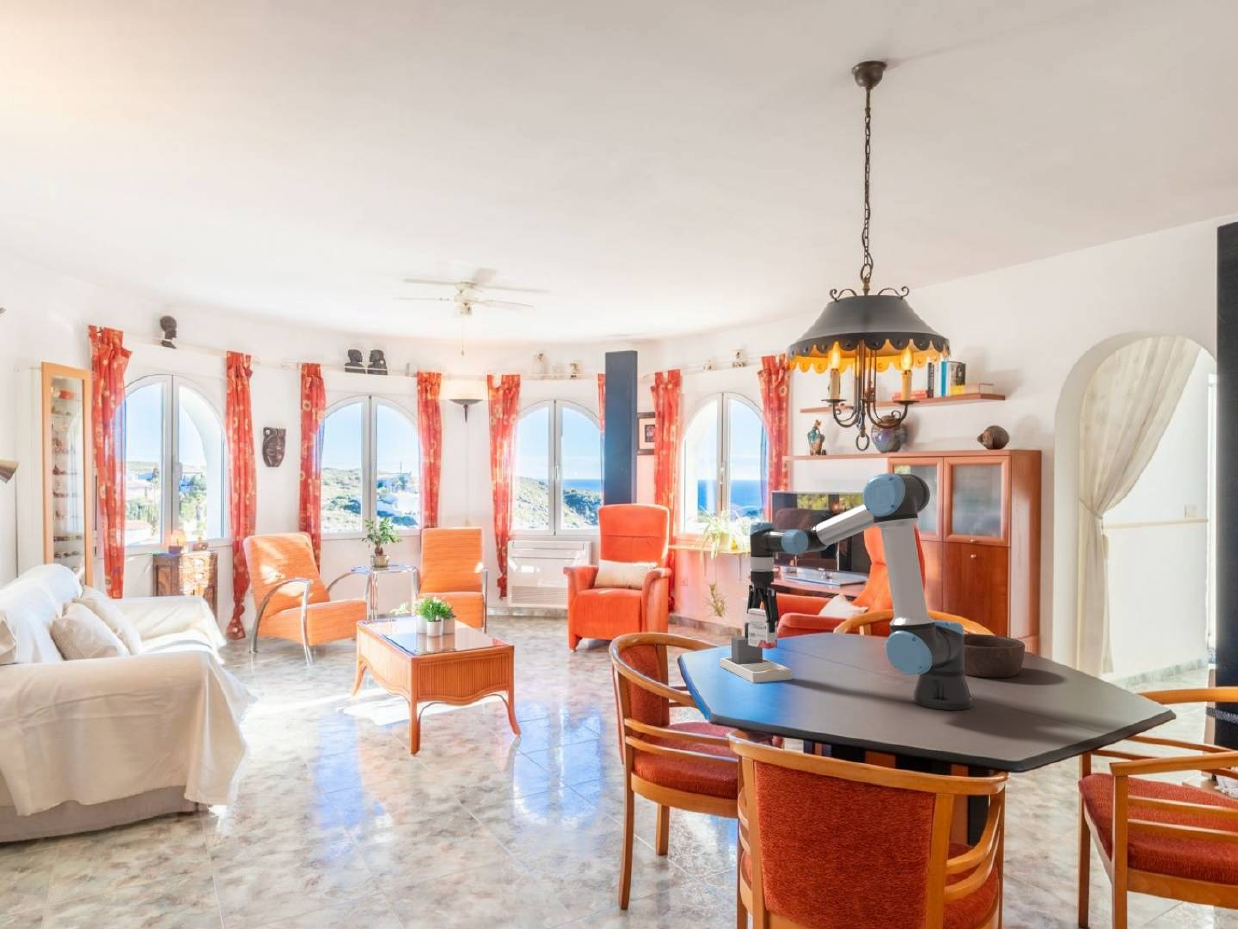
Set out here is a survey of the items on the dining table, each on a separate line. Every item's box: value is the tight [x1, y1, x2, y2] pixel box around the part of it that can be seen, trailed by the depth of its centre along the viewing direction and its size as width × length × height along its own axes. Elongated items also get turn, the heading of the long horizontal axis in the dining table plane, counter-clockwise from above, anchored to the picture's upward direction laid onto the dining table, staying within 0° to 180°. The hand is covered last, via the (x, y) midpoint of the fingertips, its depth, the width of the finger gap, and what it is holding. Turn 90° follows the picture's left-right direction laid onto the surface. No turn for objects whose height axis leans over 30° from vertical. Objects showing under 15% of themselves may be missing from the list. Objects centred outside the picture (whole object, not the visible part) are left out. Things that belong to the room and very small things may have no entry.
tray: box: [719, 656, 793, 683], centre depth 251 cm, size 23×14×3 cm, turn 18°
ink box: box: [747, 608, 778, 650], centre depth 247 cm, size 8×5×12 cm, turn 39°
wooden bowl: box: [964, 633, 1026, 679], centre depth 253 cm, size 25×25×10 cm
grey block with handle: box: [730, 621, 764, 665], centre depth 257 cm, size 5×9×15 cm, turn 108°
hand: (762, 639), depth 247 cm, fingers closed on ink box, 9 cm apart
